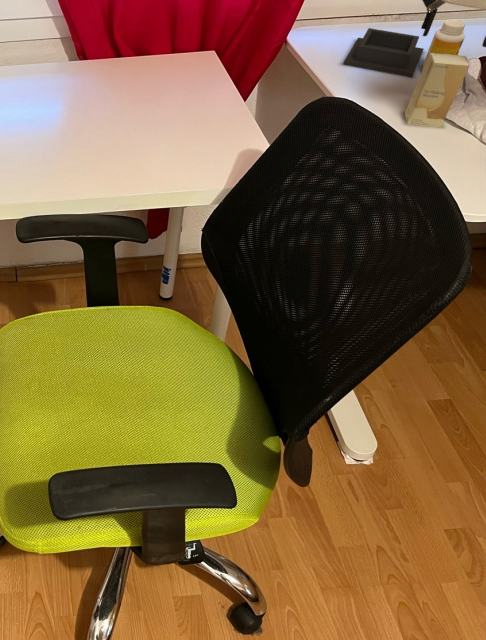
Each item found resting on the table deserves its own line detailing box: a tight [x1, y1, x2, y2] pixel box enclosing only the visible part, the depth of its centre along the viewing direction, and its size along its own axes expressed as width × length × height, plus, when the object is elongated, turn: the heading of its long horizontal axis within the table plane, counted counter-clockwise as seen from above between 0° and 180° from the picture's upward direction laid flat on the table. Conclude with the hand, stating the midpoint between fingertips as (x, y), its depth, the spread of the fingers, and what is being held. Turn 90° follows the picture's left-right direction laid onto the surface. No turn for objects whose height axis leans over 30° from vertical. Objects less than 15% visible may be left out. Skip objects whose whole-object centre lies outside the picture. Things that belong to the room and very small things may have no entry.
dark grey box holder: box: [343, 27, 425, 78], centre depth 149 cm, size 14×14×4 cm
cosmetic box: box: [404, 53, 471, 128], centre depth 127 cm, size 6×4×12 cm
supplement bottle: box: [421, 18, 466, 72], centre depth 142 cm, size 6×6×10 cm
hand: (454, 38), depth 120 cm, fingers open, 9 cm apart
